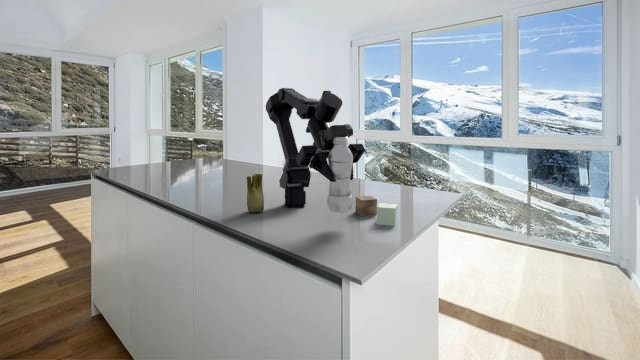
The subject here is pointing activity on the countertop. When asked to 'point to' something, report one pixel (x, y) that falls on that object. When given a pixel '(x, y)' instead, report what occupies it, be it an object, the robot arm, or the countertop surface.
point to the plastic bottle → (340, 176)
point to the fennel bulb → (255, 194)
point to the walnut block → (366, 205)
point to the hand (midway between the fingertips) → (342, 180)
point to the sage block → (386, 214)
